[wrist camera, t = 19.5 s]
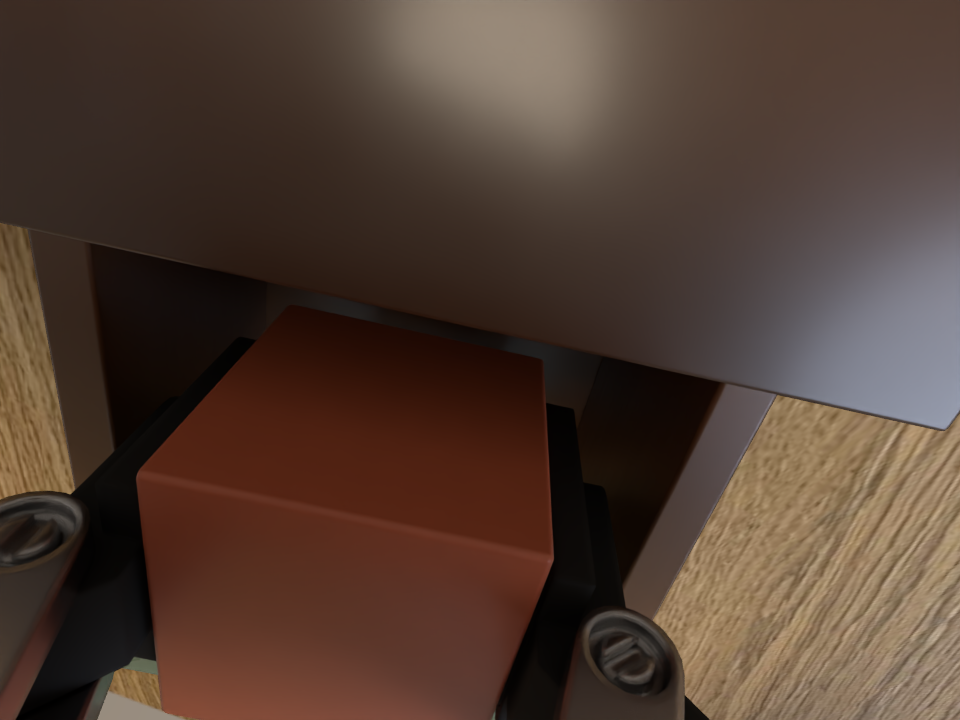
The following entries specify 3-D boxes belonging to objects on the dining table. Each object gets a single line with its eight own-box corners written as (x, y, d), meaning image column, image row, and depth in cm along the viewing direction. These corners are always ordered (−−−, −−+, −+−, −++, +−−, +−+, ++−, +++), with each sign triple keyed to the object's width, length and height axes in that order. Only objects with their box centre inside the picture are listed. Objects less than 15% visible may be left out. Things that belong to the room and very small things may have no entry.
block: (279, 495, 12) (159, 715, 8) (289, 301, 10) (131, 472, 6) (489, 538, 12) (472, 775, 8) (545, 357, 10) (556, 559, 6)
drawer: (540, 626, 21) (545, 880, 15) (229, 563, 21) (96, 796, 14) (781, 33, 12) (1082, 22, 5) (224, -104, 11) (-168, -291, 5)
